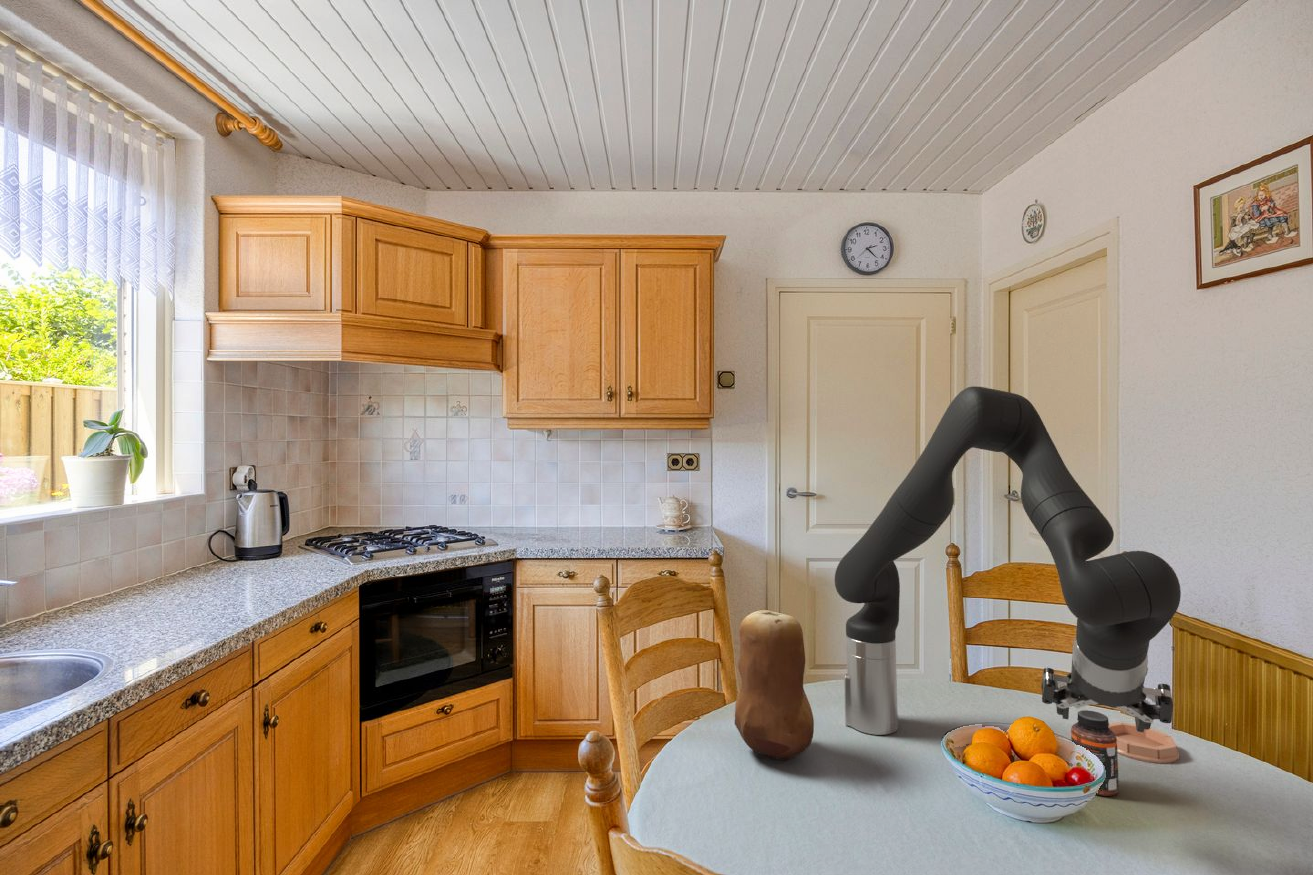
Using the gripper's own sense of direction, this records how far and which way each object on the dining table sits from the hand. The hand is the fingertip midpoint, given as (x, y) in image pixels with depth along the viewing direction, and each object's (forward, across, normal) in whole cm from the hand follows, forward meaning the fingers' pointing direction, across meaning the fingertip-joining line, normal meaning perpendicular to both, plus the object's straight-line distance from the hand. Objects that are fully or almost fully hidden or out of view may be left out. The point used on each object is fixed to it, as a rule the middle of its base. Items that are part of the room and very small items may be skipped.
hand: (1100, 718), depth 86 cm
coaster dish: (+32, -8, -11) cm, 35 cm away
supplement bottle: (+19, 0, +3) cm, 19 cm away
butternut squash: (+9, +48, +13) cm, 50 cm away
